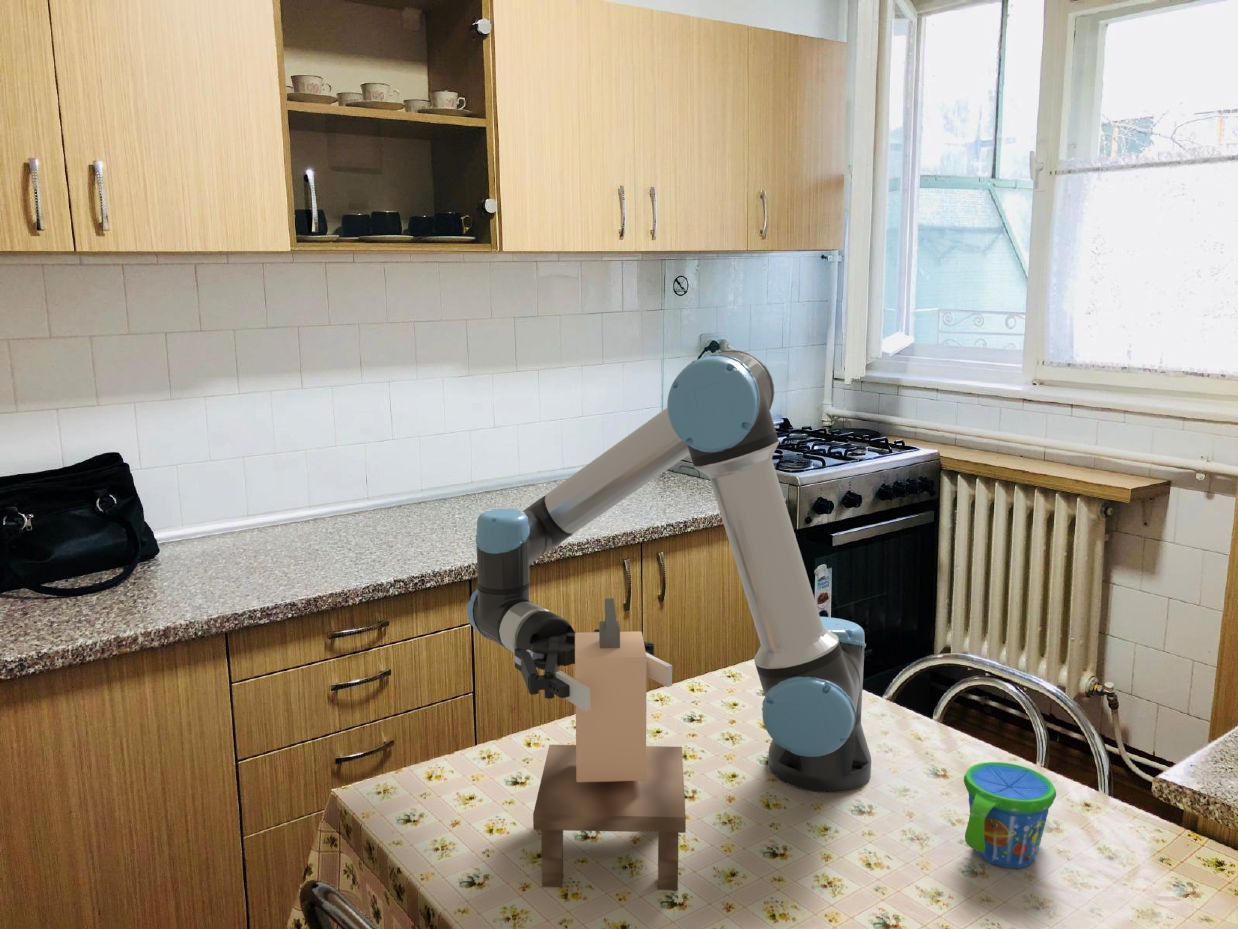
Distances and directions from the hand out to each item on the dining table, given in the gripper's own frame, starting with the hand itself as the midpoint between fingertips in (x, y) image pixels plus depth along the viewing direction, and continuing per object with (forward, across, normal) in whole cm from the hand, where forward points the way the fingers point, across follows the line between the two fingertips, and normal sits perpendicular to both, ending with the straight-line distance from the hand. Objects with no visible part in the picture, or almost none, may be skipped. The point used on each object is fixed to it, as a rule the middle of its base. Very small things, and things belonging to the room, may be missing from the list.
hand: (630, 687), depth 120 cm
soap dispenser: (-3, +1, -12) cm, 13 cm away
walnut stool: (-4, 0, -24) cm, 24 cm away
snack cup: (+26, -40, -24) cm, 53 cm away
